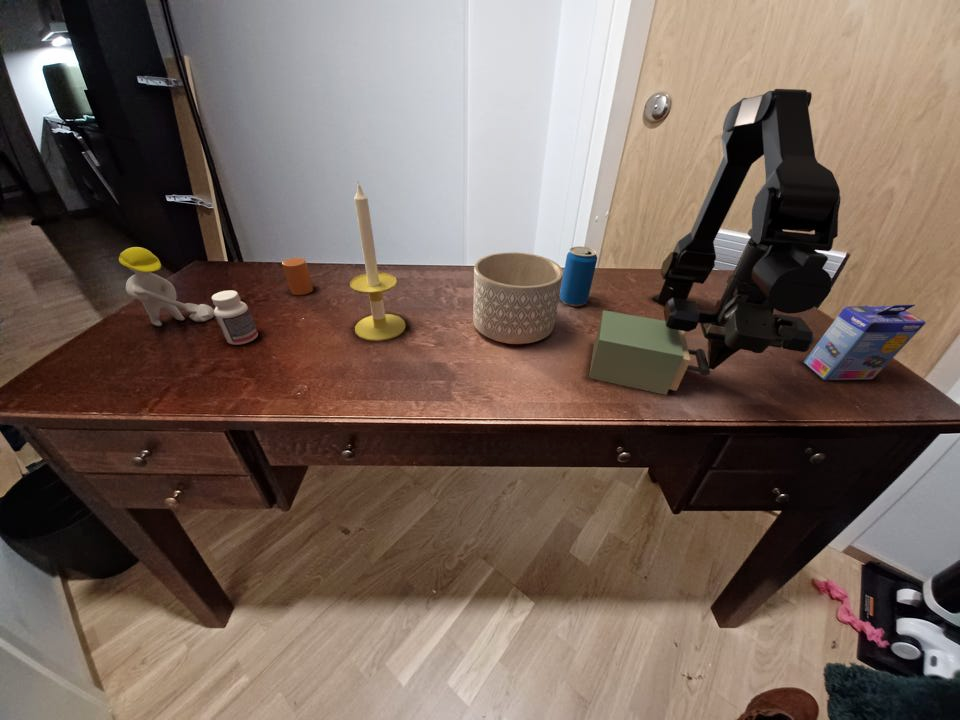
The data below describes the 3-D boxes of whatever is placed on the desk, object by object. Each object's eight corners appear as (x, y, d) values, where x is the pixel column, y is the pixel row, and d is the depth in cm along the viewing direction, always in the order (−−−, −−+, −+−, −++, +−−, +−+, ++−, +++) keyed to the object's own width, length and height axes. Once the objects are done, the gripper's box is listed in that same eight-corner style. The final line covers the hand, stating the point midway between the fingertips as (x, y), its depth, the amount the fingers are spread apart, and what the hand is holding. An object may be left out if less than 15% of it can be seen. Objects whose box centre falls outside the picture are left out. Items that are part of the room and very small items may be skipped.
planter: (487, 302, 83) (490, 247, 76) (559, 315, 79) (569, 259, 72) (460, 338, 71) (460, 277, 63) (543, 357, 67) (554, 294, 59)
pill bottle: (265, 333, 70) (249, 291, 65) (242, 348, 66) (223, 304, 61) (243, 328, 72) (226, 286, 66) (220, 342, 68) (199, 298, 62)
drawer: (695, 364, 65) (709, 334, 61) (702, 396, 58) (719, 365, 54) (606, 346, 69) (615, 317, 65) (604, 375, 62) (613, 344, 58)
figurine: (180, 337, 68) (138, 260, 59) (140, 330, 70) (93, 254, 61) (222, 312, 76) (190, 240, 67) (185, 306, 78) (149, 235, 69)
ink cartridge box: (825, 382, 63) (883, 308, 55) (800, 363, 68) (850, 292, 59) (876, 380, 64) (941, 307, 56) (848, 361, 69) (904, 291, 60)
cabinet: (662, 359, 67) (677, 322, 63) (666, 395, 59) (683, 356, 55) (593, 346, 70) (603, 309, 66) (588, 378, 62) (599, 339, 58)
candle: (413, 333, 72) (399, 184, 56) (362, 346, 68) (331, 189, 52) (396, 311, 79) (379, 173, 63) (349, 321, 75) (318, 176, 59)
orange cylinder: (311, 284, 88) (303, 256, 84) (314, 292, 85) (307, 263, 81) (289, 288, 86) (280, 259, 82) (292, 296, 83) (283, 267, 79)
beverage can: (587, 309, 82) (599, 257, 75) (558, 306, 83) (567, 254, 76) (586, 296, 87) (597, 247, 80) (559, 293, 88) (568, 244, 81)
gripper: (690, 292, 47) (652, 384, 56) (865, 318, 42) (792, 414, 52) (681, 261, 55) (649, 346, 64) (825, 280, 51) (769, 369, 60)
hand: (710, 367), depth 60 cm, fingers closed
